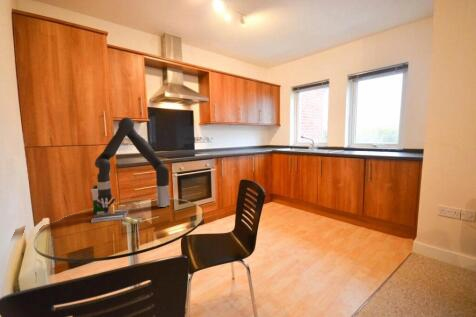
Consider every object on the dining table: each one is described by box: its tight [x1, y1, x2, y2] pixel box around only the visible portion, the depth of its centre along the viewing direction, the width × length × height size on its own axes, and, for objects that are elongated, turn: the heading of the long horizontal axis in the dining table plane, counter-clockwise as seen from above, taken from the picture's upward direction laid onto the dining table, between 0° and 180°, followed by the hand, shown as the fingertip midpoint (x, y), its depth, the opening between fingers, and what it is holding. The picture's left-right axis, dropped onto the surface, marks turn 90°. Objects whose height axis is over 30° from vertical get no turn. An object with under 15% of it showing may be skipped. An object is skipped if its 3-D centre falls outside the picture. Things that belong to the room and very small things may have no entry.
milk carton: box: [90, 184, 103, 215], centre depth 156 cm, size 9×9×20 cm
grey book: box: [91, 208, 128, 220], centre depth 147 cm, size 19×13×2 cm
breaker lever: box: [109, 203, 117, 215], centre depth 148 cm, size 4×3×6 cm
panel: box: [90, 209, 130, 224], centre depth 148 cm, size 20×13×2 cm, turn 107°
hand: (106, 212), depth 147 cm, fingers closed
